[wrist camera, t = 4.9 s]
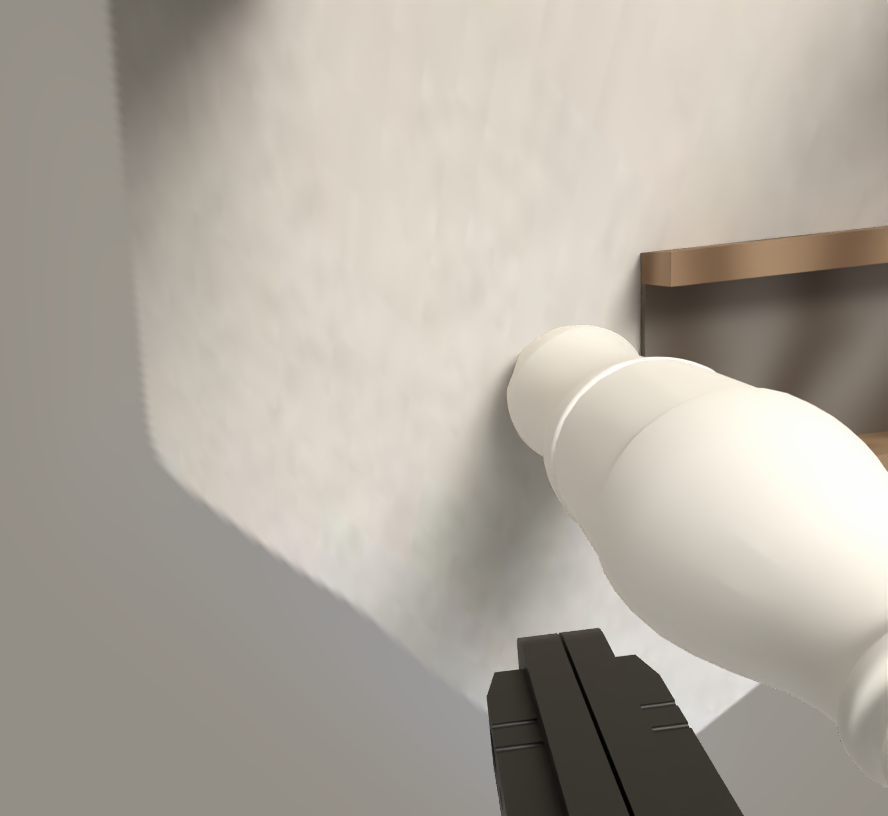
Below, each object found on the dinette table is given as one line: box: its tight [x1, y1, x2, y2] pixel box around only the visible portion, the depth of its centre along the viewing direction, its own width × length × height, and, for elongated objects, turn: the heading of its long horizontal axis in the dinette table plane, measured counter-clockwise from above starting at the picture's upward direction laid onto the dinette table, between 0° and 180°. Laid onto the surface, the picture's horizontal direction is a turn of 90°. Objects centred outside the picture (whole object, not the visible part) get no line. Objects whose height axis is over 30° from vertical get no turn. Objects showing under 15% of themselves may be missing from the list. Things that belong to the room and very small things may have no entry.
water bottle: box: [507, 325, 888, 789], centre depth 18 cm, size 7×7×25 cm
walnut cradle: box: [641, 226, 888, 472], centre depth 29 cm, size 17×13×4 cm
